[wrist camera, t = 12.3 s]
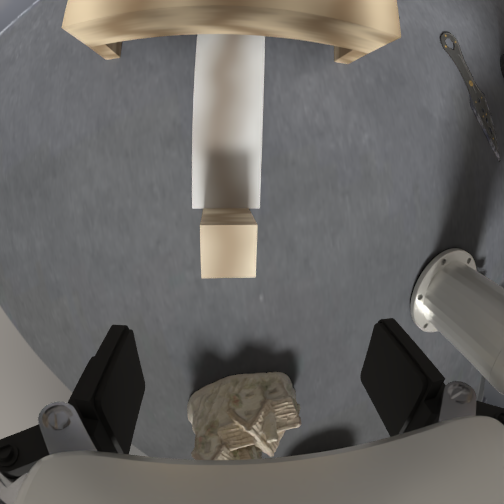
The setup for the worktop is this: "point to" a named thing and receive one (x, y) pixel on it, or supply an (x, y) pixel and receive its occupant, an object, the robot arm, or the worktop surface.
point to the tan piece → (227, 150)
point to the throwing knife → (472, 92)
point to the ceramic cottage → (242, 416)
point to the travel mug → (502, 64)
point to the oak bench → (236, 22)
